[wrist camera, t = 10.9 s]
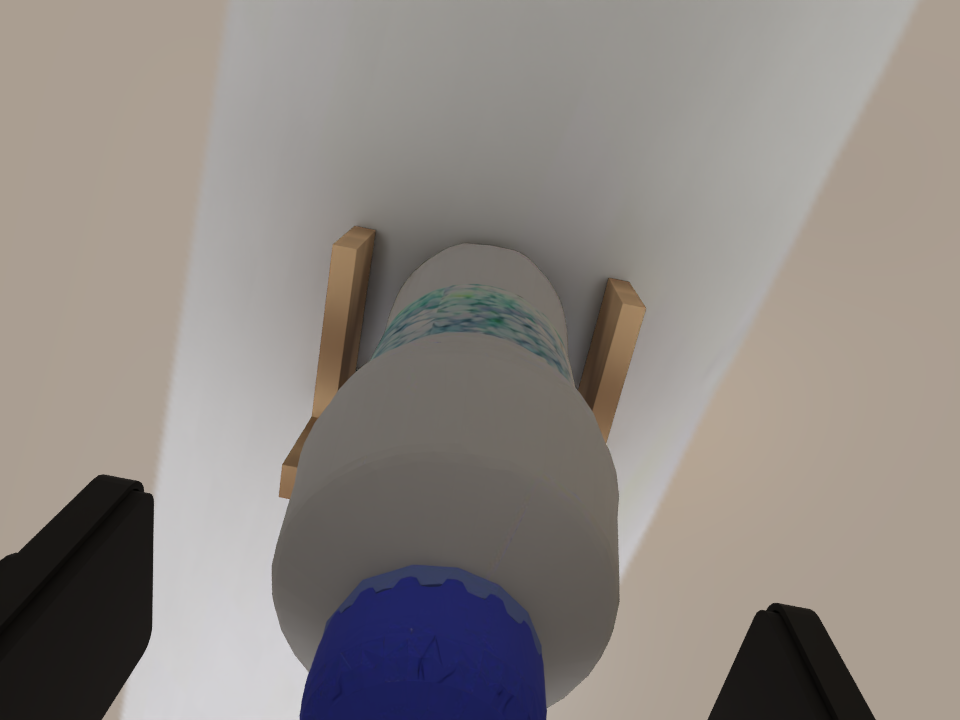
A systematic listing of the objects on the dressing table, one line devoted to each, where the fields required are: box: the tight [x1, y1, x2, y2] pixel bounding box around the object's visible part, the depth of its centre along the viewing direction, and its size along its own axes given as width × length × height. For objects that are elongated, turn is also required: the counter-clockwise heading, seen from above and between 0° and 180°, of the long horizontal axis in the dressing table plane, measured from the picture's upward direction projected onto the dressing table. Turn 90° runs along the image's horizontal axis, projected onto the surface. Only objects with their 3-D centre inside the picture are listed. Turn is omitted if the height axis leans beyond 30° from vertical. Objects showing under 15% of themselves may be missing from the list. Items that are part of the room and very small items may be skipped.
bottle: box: [272, 243, 619, 720], centre depth 18 cm, size 7×7×20 cm
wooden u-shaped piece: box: [279, 226, 646, 499], centre depth 24 cm, size 8×11×7 cm
